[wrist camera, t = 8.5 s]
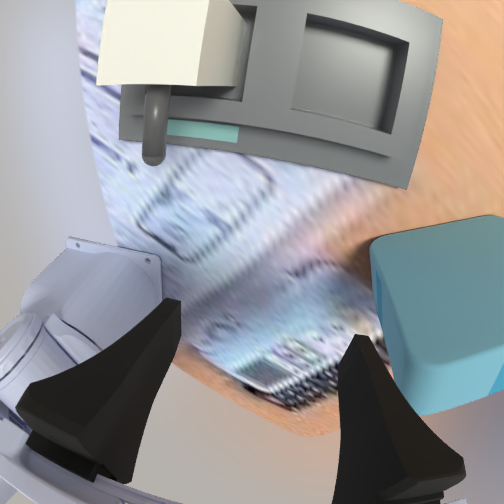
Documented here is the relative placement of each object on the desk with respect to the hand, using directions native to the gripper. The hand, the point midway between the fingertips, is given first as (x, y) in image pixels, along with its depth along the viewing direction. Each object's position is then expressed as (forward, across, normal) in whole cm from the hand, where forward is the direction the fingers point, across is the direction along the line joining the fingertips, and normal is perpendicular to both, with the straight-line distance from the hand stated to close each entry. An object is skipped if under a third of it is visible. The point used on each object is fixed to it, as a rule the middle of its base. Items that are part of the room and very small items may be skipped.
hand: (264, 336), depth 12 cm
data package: (+11, -12, -1) cm, 17 cm away
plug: (+9, +6, -9) cm, 14 cm away
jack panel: (+10, +2, -11) cm, 15 cm away
